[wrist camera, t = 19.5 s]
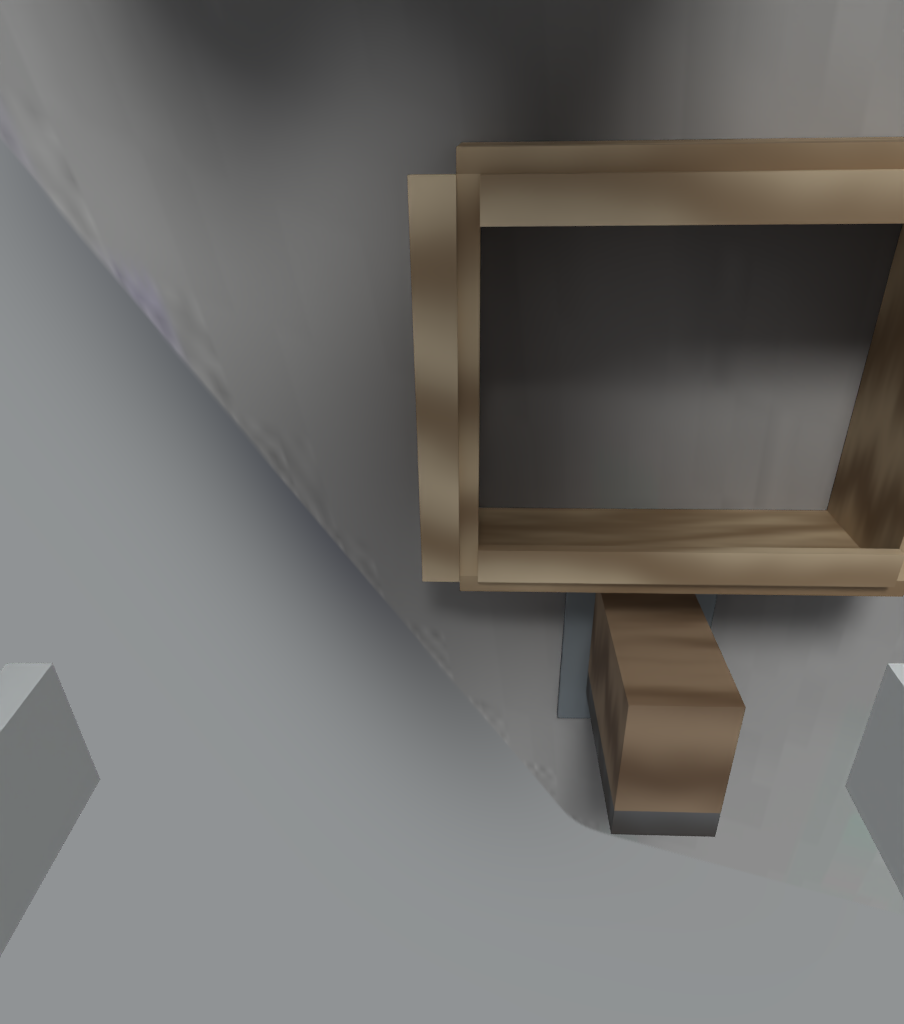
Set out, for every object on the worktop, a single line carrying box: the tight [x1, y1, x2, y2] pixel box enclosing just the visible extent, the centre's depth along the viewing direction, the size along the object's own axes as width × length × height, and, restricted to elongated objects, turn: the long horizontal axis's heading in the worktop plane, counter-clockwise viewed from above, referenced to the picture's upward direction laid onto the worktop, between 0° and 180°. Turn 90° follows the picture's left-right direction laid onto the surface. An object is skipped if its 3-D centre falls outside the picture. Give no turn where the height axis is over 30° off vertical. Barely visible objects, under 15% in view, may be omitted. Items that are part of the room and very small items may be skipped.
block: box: [586, 593, 746, 837], centre depth 45 cm, size 10×6×12 cm, turn 1°
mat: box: [557, 592, 717, 718], centre depth 51 cm, size 15×10×1 cm, turn 1°
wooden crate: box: [407, 137, 904, 596], centre depth 38 cm, size 22×28×9 cm
